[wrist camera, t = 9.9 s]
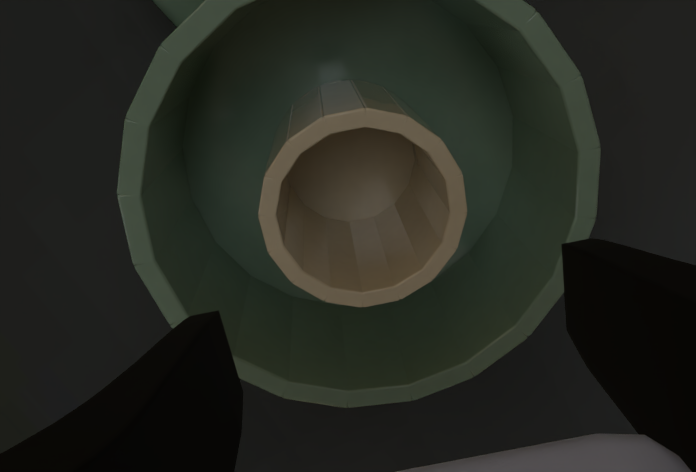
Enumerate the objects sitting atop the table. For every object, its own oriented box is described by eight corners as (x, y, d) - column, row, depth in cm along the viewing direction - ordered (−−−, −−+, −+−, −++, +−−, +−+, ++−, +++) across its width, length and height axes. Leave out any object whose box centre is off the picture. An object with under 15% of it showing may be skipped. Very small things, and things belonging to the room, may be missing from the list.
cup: (411, 64, 20) (452, 89, 14) (433, 211, 22) (477, 285, 16) (256, 96, 20) (236, 133, 14) (291, 240, 22) (285, 323, 16)
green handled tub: (589, 166, 22) (685, 223, 16) (333, 366, 24) (341, 476, 19) (287, -246, 17) (278, -367, 11) (4, 54, 19) (-119, 75, 14)
